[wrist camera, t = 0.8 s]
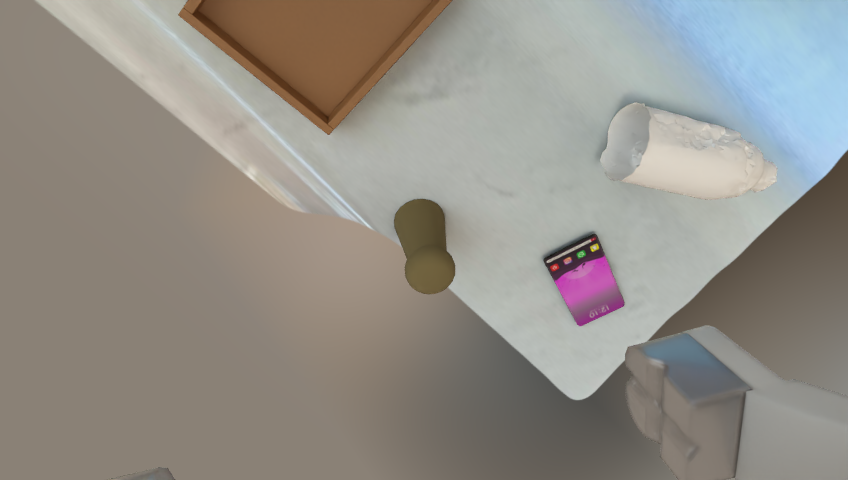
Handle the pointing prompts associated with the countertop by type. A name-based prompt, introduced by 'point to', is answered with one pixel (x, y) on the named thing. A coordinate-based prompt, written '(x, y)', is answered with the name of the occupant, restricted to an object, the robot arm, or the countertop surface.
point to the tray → (315, 45)
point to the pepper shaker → (424, 246)
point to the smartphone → (585, 280)
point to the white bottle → (682, 155)
